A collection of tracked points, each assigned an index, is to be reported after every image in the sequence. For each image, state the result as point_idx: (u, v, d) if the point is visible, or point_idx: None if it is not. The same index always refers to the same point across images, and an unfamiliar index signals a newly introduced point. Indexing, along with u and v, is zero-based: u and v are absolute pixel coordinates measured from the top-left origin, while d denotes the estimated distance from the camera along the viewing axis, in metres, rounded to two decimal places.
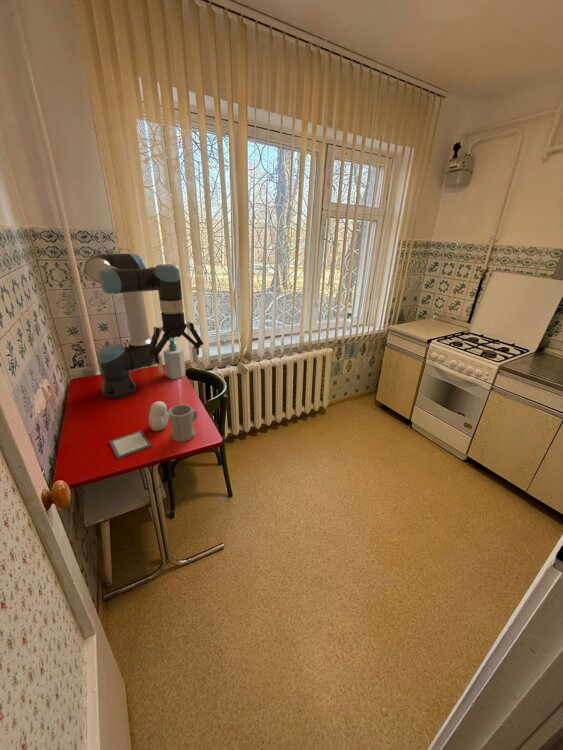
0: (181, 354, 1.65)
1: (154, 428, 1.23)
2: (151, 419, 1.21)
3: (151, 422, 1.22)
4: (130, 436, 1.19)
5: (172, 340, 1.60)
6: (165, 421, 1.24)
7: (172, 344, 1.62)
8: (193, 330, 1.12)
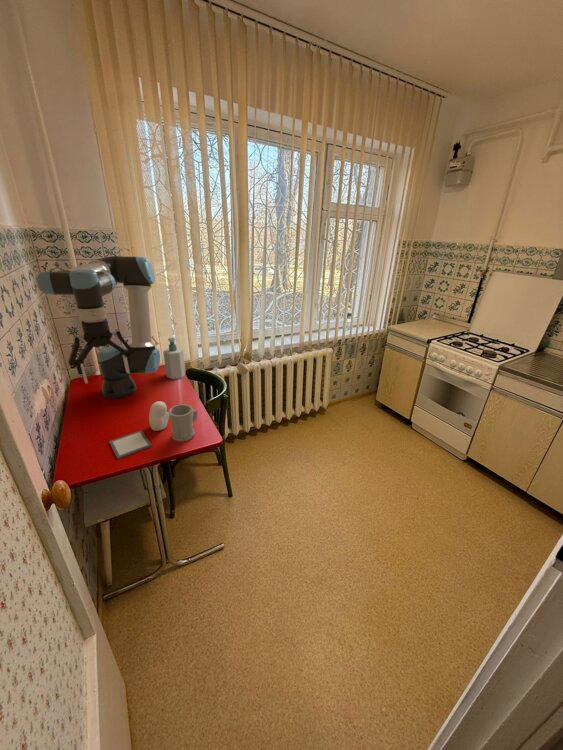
0: (181, 354, 1.65)
1: (154, 428, 1.23)
2: (151, 419, 1.21)
3: (151, 422, 1.22)
4: (130, 436, 1.19)
5: (172, 340, 1.60)
6: (165, 421, 1.24)
7: (172, 344, 1.62)
8: (121, 338, 1.06)
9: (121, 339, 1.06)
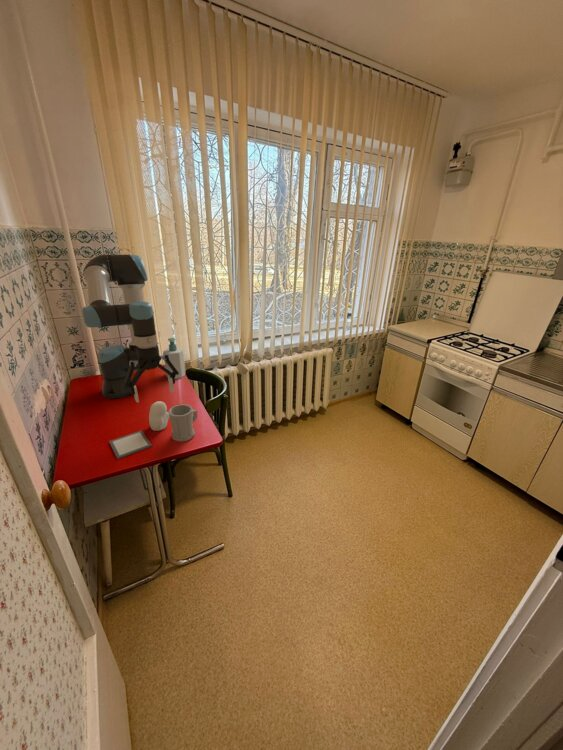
0: (181, 354, 1.65)
1: (154, 428, 1.23)
2: (151, 419, 1.21)
3: (151, 422, 1.22)
4: (130, 436, 1.19)
5: (172, 340, 1.60)
6: (165, 421, 1.24)
7: (172, 344, 1.62)
8: (168, 361, 1.17)
9: (168, 362, 1.18)
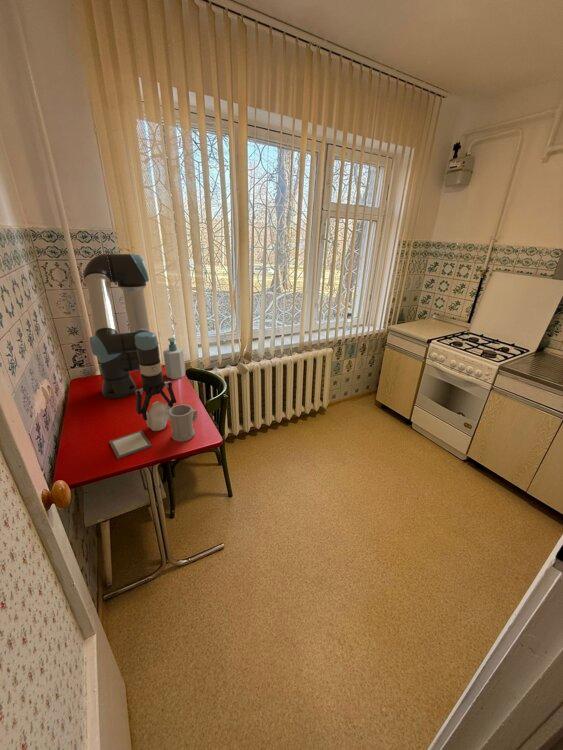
0: (181, 354, 1.65)
1: (153, 428, 1.23)
2: (150, 419, 1.21)
3: (150, 422, 1.22)
4: (130, 436, 1.19)
5: (172, 340, 1.60)
6: (164, 421, 1.24)
7: (172, 344, 1.62)
8: (170, 389, 1.22)
9: (170, 389, 1.22)
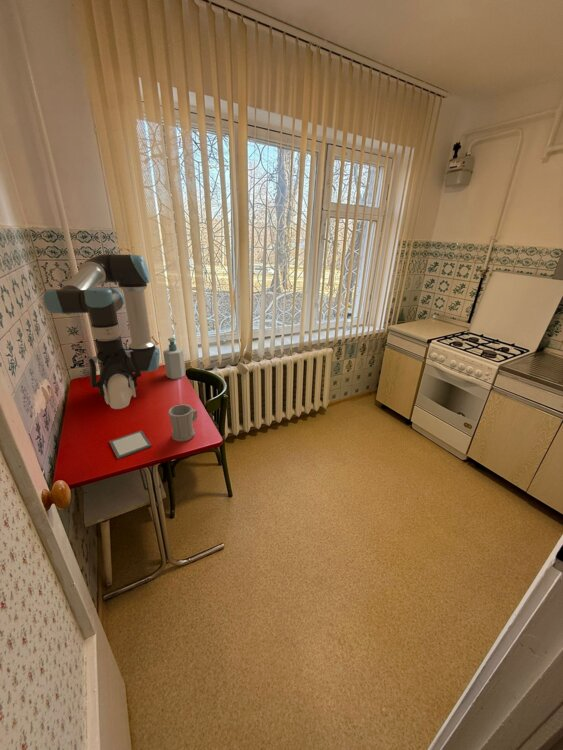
0: (181, 354, 1.65)
1: (113, 406, 1.04)
2: (109, 395, 1.03)
3: (109, 398, 1.03)
4: (130, 436, 1.19)
5: (172, 340, 1.60)
6: (127, 398, 1.06)
7: (172, 344, 1.62)
8: (133, 359, 1.04)
9: (133, 360, 1.04)
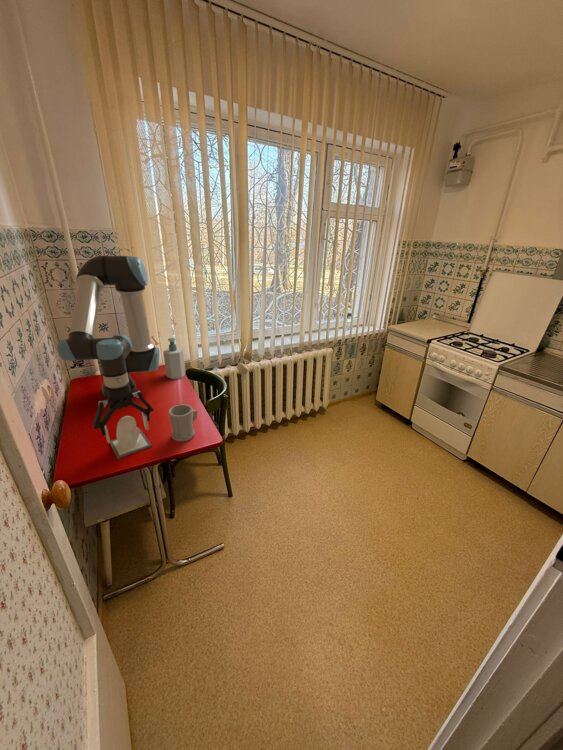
0: (181, 354, 1.65)
1: (122, 445, 1.11)
2: (118, 436, 1.10)
3: (118, 439, 1.11)
4: None
5: (172, 340, 1.60)
6: (135, 438, 1.13)
7: (172, 344, 1.62)
8: (141, 399, 1.11)
9: (142, 399, 1.11)
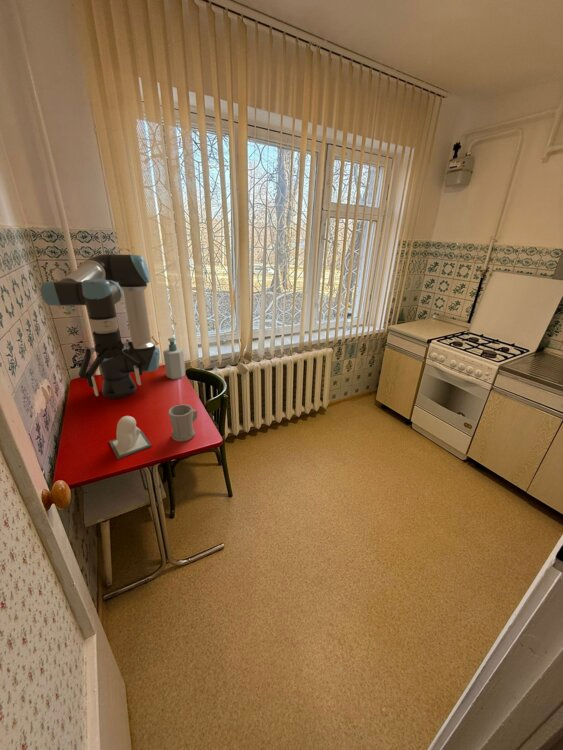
0: (181, 354, 1.65)
1: (122, 445, 1.11)
2: (118, 436, 1.10)
3: (118, 439, 1.11)
4: None
5: (172, 340, 1.60)
6: (135, 437, 1.13)
7: (172, 344, 1.62)
8: (133, 349, 1.03)
9: (133, 350, 1.03)
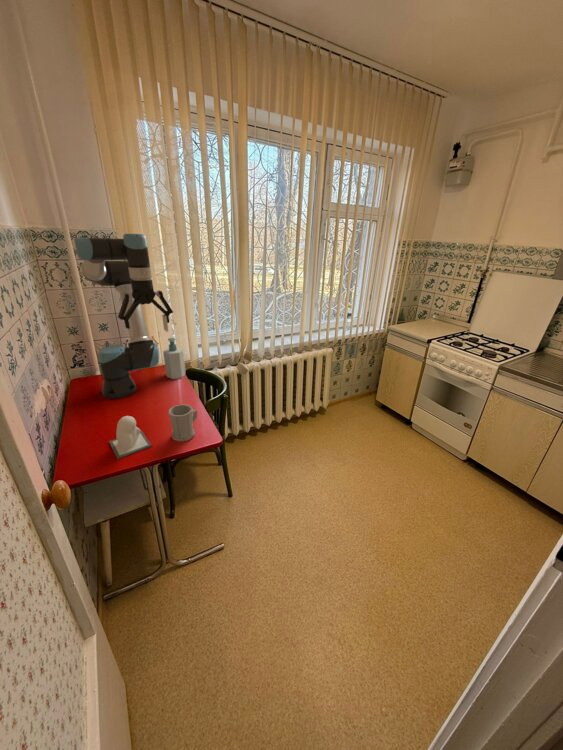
0: (181, 354, 1.65)
1: (122, 445, 1.11)
2: (118, 436, 1.10)
3: (118, 439, 1.11)
4: None
5: (172, 340, 1.60)
6: (135, 437, 1.13)
7: (172, 344, 1.62)
8: (162, 298, 1.19)
9: (162, 299, 1.20)
